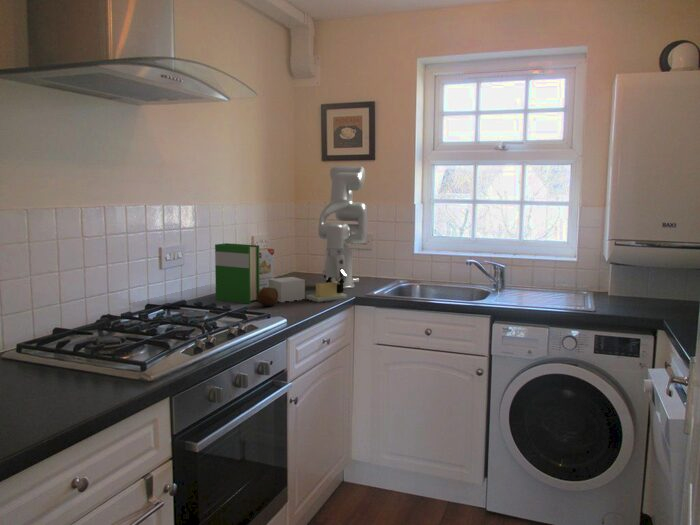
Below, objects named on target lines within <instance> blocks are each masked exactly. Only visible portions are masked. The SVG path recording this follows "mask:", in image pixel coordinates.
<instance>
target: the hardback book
mask: <svg viewBox="0 0 700 525" xmlns="http://www.w3.org/2000/svg"><path fill="white" fill-rule="evenodd" d="M259 249H260V245H255V244H243V243H242V244H240V243H227V242H226V243H217V244H214V254H215V256H214V259H215V260H214V261H215V262H214V263H215V265H214V266H215V272H214V273H215V274H214V275H215V300H217V301H224V302H234V303H241V304H248V303H249V304H251V302H252V301H253V300H257V295H258V293H259Z"/></svg>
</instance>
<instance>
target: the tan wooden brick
mask: <svg viewBox="0 0 700 525" xmlns="http://www.w3.org/2000/svg"><path fill="white" fill-rule="evenodd" d="M337 284H338V283H337V282H333V281H332V282H328V283H326V282H321V283H320V282H319V283H315V294H316V297H317V298H320V297H328V296H336V295H342V294H343V293H337Z"/></svg>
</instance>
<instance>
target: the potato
mask: <svg viewBox="0 0 700 525" xmlns="http://www.w3.org/2000/svg"><path fill="white" fill-rule="evenodd" d="M257 300H258V301H257V302H258V304H260V305H263V306H268V307H273V306H275V305H276V304H277V302H278V301H277V300H278V292H277V290H276V289H275V288H270V287H266V288H264V289H262V290H261V291H260V292H259V293H258V295H257Z"/></svg>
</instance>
